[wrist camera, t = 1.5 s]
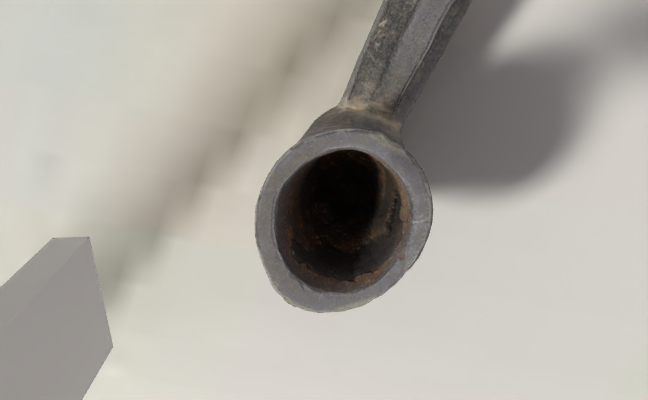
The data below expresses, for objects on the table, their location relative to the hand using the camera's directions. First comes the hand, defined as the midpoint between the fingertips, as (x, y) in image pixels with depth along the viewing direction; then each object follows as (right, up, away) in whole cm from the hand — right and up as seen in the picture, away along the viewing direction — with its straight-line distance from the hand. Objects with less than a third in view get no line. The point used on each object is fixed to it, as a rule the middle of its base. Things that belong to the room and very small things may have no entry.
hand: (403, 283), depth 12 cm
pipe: (0, +6, +14) cm, 16 cm away
